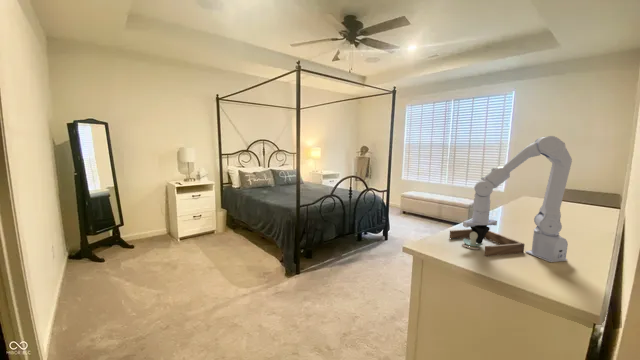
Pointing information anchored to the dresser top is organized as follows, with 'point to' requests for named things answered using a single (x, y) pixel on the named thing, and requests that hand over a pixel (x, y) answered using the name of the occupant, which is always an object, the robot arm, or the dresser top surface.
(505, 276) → the dresser top surface
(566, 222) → the dresser top surface
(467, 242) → the pacifier
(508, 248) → the open box
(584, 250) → the dresser top surface
